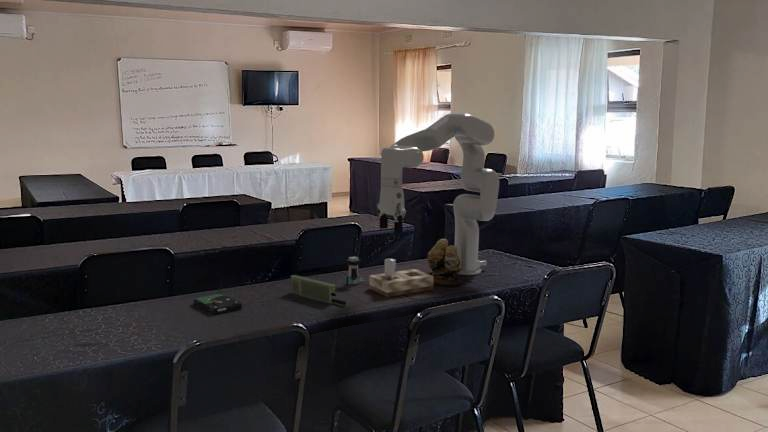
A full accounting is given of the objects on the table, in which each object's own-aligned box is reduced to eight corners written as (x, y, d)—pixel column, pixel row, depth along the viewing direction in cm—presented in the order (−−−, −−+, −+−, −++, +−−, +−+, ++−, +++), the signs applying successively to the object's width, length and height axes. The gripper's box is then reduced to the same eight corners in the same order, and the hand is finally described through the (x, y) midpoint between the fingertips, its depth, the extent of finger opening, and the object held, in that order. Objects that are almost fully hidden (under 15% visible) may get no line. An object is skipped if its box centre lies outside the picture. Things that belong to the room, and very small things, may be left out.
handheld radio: (296, 292, 238) (348, 305, 223) (289, 294, 236) (342, 308, 220) (295, 274, 237) (348, 286, 222) (288, 276, 234) (341, 289, 219)
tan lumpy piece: (471, 284, 251) (472, 240, 248) (447, 290, 244) (449, 244, 241) (439, 274, 265) (440, 232, 262) (416, 279, 258) (417, 236, 255)
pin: (391, 284, 243) (391, 258, 241) (397, 287, 240) (397, 260, 238) (382, 286, 241) (382, 259, 239) (388, 288, 237) (388, 261, 236)
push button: (359, 280, 254) (359, 255, 252) (366, 284, 249) (366, 258, 248) (343, 282, 250) (344, 256, 249) (350, 286, 246) (350, 259, 244)
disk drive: (243, 310, 217) (221, 299, 228) (242, 302, 217) (221, 292, 228) (214, 317, 210) (192, 305, 221) (213, 308, 210) (192, 297, 221)
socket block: (414, 281, 253) (414, 269, 252) (433, 289, 243) (433, 276, 242) (369, 288, 243) (369, 275, 242) (386, 297, 233) (387, 283, 232)
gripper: (414, 185, 229) (413, 233, 232) (387, 179, 243) (386, 225, 246) (395, 186, 225) (395, 235, 228) (369, 180, 239) (369, 227, 242)
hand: (390, 230), depth 237 cm, fingers open, 9 cm apart
